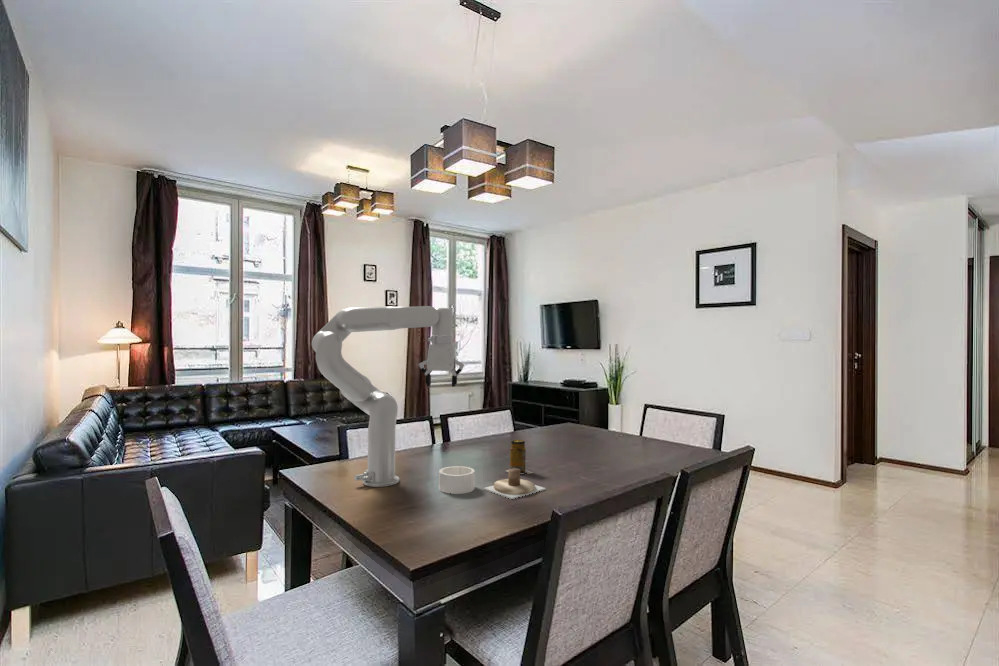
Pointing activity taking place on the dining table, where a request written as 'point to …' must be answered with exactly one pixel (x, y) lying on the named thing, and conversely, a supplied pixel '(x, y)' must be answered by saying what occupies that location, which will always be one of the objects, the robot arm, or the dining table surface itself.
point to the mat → (512, 496)
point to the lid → (514, 484)
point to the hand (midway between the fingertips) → (441, 386)
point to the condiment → (518, 455)
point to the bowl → (456, 480)
